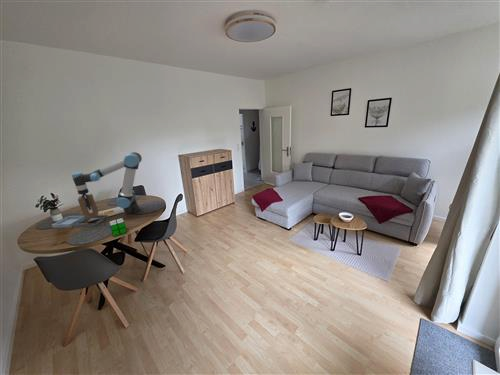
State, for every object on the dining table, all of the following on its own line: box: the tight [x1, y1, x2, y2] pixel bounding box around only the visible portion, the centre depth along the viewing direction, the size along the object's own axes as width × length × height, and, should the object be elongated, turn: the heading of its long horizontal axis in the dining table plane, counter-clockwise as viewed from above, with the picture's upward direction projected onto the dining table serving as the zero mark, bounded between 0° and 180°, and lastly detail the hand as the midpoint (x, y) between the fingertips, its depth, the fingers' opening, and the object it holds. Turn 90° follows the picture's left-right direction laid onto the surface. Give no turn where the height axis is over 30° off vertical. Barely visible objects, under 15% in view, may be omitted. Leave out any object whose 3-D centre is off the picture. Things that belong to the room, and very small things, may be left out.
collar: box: [75, 214, 110, 227], centre depth 191 cm, size 18×18×2 cm
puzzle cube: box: [108, 218, 128, 237], centre depth 168 cm, size 10×10×10 cm
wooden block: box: [77, 193, 99, 219], centre depth 187 cm, size 10×10×20 cm
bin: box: [51, 215, 85, 229], centre depth 191 cm, size 18×18×4 cm
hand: (90, 211), depth 188 cm, fingers closed on wooden block, 11 cm apart
